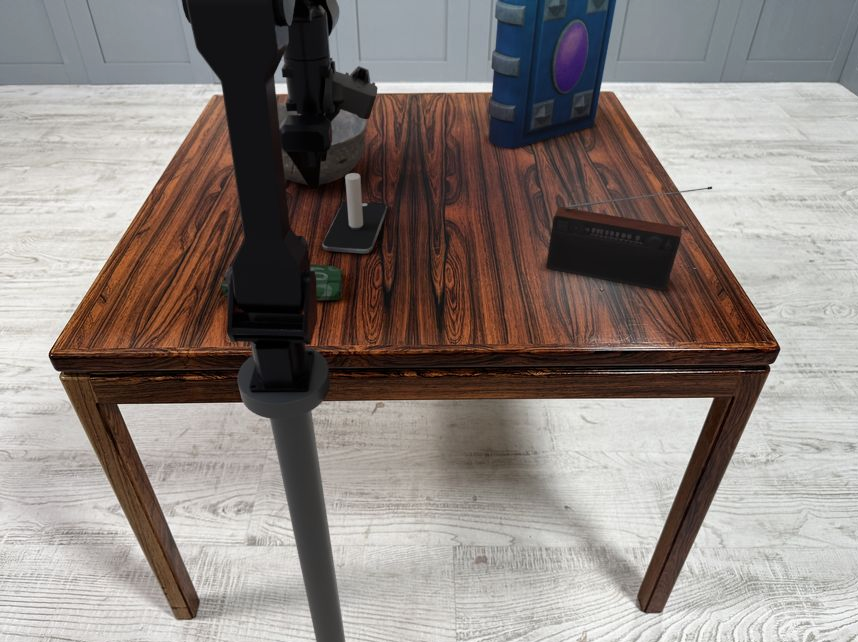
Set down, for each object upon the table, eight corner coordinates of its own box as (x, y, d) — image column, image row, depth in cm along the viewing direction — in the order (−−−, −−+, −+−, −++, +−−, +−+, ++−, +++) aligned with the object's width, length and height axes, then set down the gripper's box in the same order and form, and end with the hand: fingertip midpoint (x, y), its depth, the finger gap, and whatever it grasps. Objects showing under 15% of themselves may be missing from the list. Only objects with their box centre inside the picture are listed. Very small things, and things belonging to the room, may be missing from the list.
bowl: (281, 214, 106) (273, 155, 100) (236, 168, 119) (226, 113, 113) (391, 183, 115) (389, 127, 108) (337, 143, 128) (333, 91, 121)
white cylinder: (363, 233, 101) (359, 179, 95) (348, 233, 101) (344, 179, 95) (363, 226, 102) (360, 172, 97) (349, 226, 102) (345, 172, 97)
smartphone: (388, 203, 107) (371, 250, 96) (388, 207, 108) (371, 254, 96) (342, 200, 108) (320, 246, 97) (343, 204, 109) (320, 250, 97)
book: (507, 154, 124) (525, -26, 105) (479, 139, 130) (491, -36, 110) (598, 128, 134) (630, -41, 115) (569, 115, 140) (594, -49, 120)
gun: (345, 254, 94) (339, 294, 86) (346, 263, 95) (340, 303, 87) (232, 255, 94) (216, 295, 86) (234, 263, 95) (219, 304, 87)
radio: (545, 269, 94) (560, 171, 84) (549, 259, 96) (564, 162, 86) (680, 296, 89) (712, 194, 79) (681, 284, 91) (713, 184, 81)
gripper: (367, 77, 73) (373, 205, 83) (375, 35, 88) (379, 148, 98) (268, 77, 73) (285, 205, 83) (292, 35, 88) (305, 148, 98)
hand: (318, 174), depth 90 cm, fingers open, 9 cm apart
